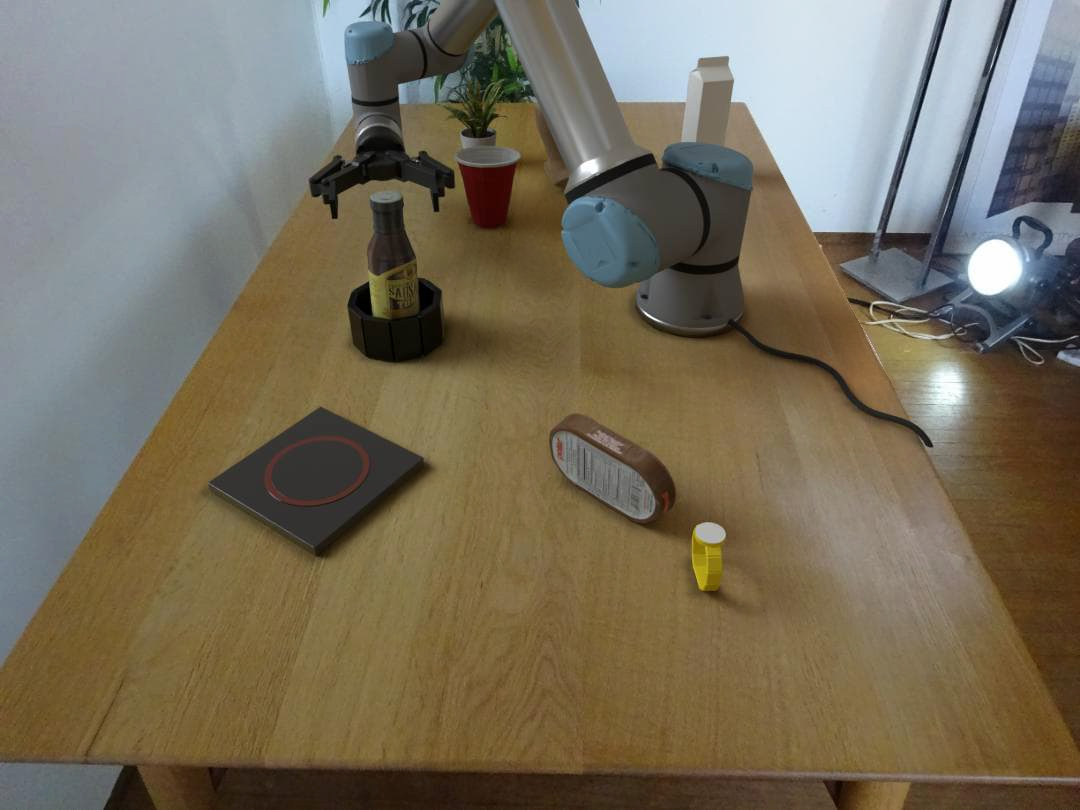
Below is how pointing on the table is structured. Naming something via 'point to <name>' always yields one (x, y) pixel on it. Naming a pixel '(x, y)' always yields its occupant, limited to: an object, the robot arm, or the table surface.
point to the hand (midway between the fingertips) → (385, 206)
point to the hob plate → (316, 478)
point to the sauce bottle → (391, 260)
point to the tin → (612, 468)
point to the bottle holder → (397, 326)
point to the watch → (708, 555)
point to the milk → (708, 101)
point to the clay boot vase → (551, 152)
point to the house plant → (476, 115)
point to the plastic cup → (488, 182)
